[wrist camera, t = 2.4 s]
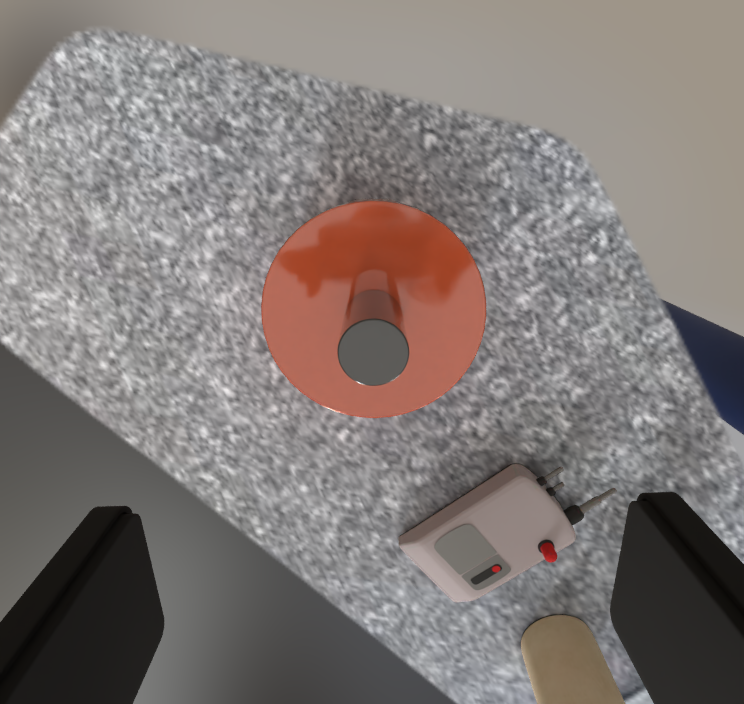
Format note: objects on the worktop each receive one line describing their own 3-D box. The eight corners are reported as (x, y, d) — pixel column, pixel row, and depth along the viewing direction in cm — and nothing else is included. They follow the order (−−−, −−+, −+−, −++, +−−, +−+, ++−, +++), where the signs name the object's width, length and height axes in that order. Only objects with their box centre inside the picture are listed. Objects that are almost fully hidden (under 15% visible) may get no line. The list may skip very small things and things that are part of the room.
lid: (487, 196, 21) (524, 205, 16) (476, 405, 25) (503, 470, 20) (255, 202, 21) (216, 213, 16) (276, 409, 25) (250, 474, 20)
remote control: (377, 549, 35) (377, 583, 33) (567, 426, 32) (586, 451, 29) (433, 605, 37) (438, 641, 34) (619, 494, 34) (641, 524, 31)
